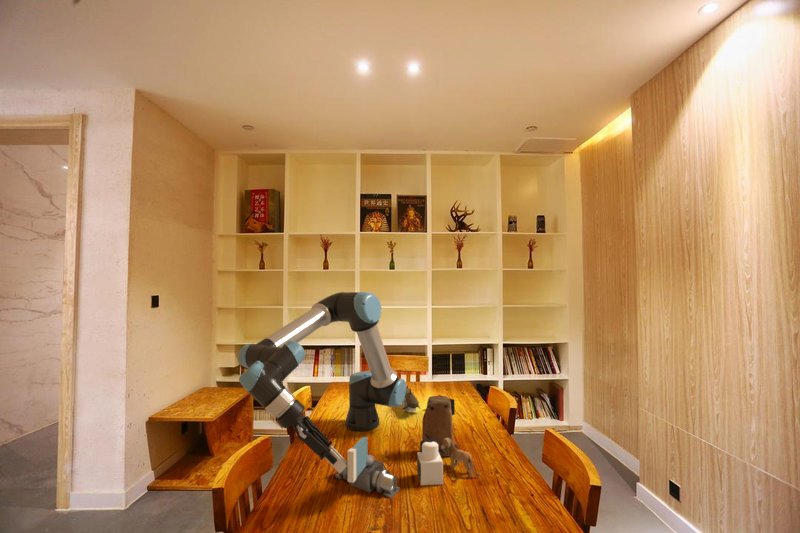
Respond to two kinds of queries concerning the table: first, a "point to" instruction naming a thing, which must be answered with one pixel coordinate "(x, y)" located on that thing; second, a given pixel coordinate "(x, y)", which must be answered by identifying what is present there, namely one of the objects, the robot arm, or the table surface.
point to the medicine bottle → (429, 463)
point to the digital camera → (452, 405)
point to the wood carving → (409, 401)
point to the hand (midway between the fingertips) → (343, 467)
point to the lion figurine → (458, 455)
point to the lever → (358, 459)
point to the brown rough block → (438, 421)
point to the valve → (373, 479)
